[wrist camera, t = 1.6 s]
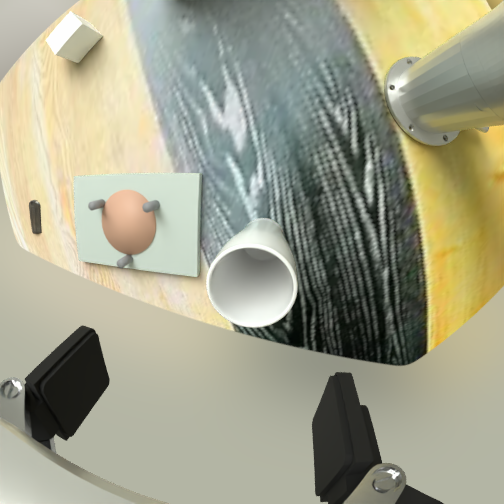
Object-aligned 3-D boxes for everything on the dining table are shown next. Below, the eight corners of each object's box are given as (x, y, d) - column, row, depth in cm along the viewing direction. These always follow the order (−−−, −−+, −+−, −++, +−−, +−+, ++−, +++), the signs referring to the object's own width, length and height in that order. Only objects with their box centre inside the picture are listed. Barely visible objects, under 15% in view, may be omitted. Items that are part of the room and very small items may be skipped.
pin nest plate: (202, 173, 32) (193, 173, 29) (199, 273, 36) (191, 284, 32) (78, 175, 34) (62, 177, 30) (83, 258, 37) (69, 265, 34)
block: (37, 230, 39) (30, 233, 37) (32, 199, 37) (25, 201, 35) (46, 231, 38) (39, 234, 36) (41, 198, 36) (34, 200, 34)
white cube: (67, 48, 27) (45, 40, 22) (90, 22, 26) (70, 11, 20) (78, 63, 28) (55, 54, 23) (103, 36, 27) (82, 23, 21)
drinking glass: (239, 207, 33) (208, 235, 19) (295, 215, 32) (307, 251, 18) (233, 260, 35) (202, 320, 21) (286, 268, 35) (288, 335, 20)
